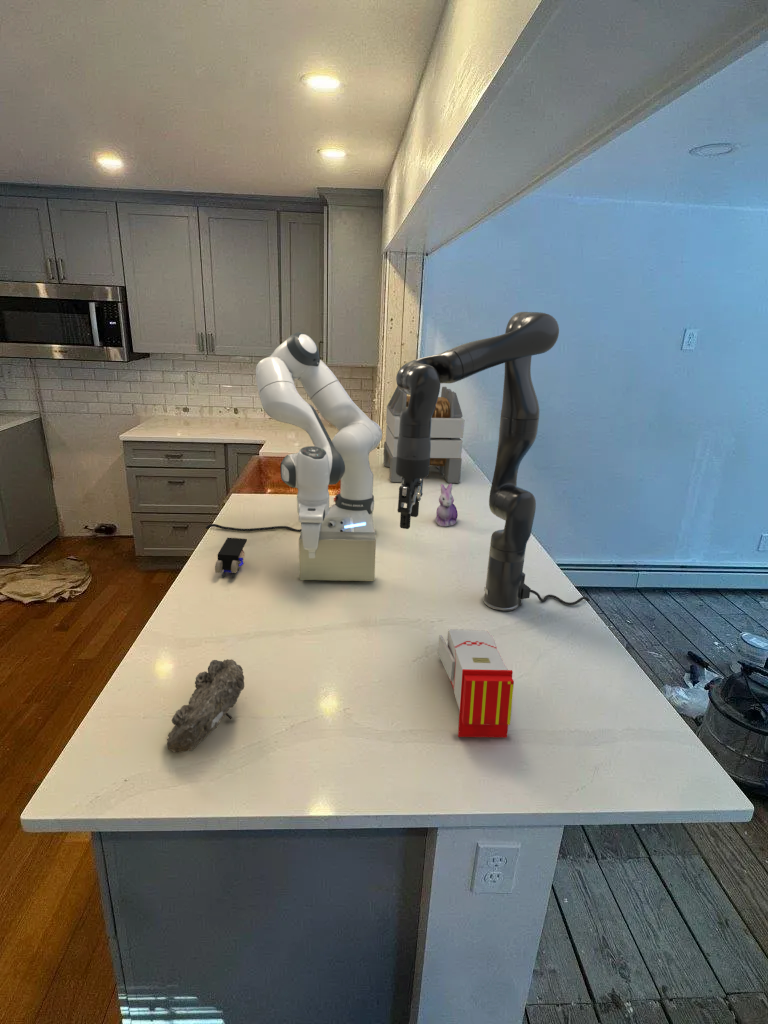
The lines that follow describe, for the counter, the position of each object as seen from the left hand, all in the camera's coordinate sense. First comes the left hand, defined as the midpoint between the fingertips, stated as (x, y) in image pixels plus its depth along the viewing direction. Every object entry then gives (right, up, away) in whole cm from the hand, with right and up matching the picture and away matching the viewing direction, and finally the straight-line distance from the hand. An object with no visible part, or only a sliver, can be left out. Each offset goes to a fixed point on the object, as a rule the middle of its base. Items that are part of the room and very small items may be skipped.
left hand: (313, 552), depth 161 cm
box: (+7, -7, +3) cm, 10 cm away
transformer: (+37, +30, +114) cm, 123 cm away
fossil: (-13, -28, -53) cm, 61 cm away
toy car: (-25, -6, +6) cm, 26 cm away
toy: (+38, -26, -43) cm, 63 cm away
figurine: (+43, +7, +51) cm, 67 cm away
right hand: (+26, +9, -29) cm, 40 cm away
